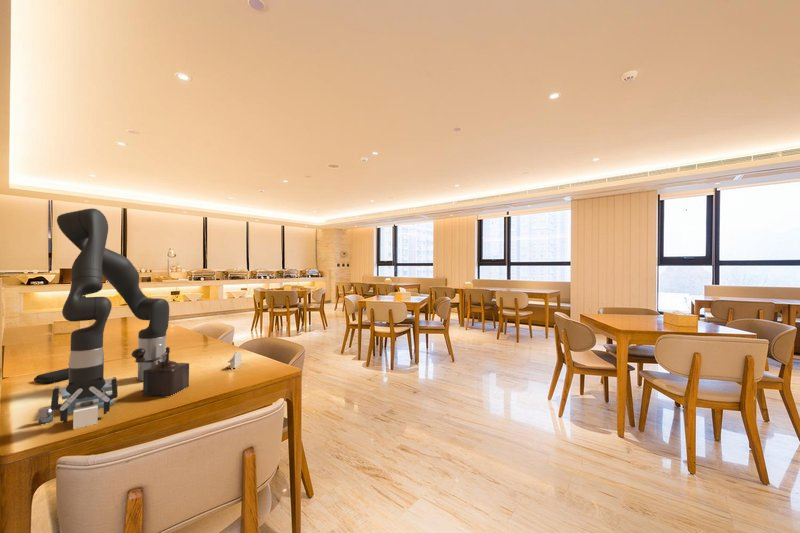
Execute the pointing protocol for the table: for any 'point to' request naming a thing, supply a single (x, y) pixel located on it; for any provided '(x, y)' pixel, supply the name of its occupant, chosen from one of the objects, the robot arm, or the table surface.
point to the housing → (85, 413)
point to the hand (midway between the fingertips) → (85, 417)
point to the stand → (88, 398)
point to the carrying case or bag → (53, 376)
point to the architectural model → (235, 360)
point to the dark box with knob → (162, 375)
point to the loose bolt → (45, 415)
